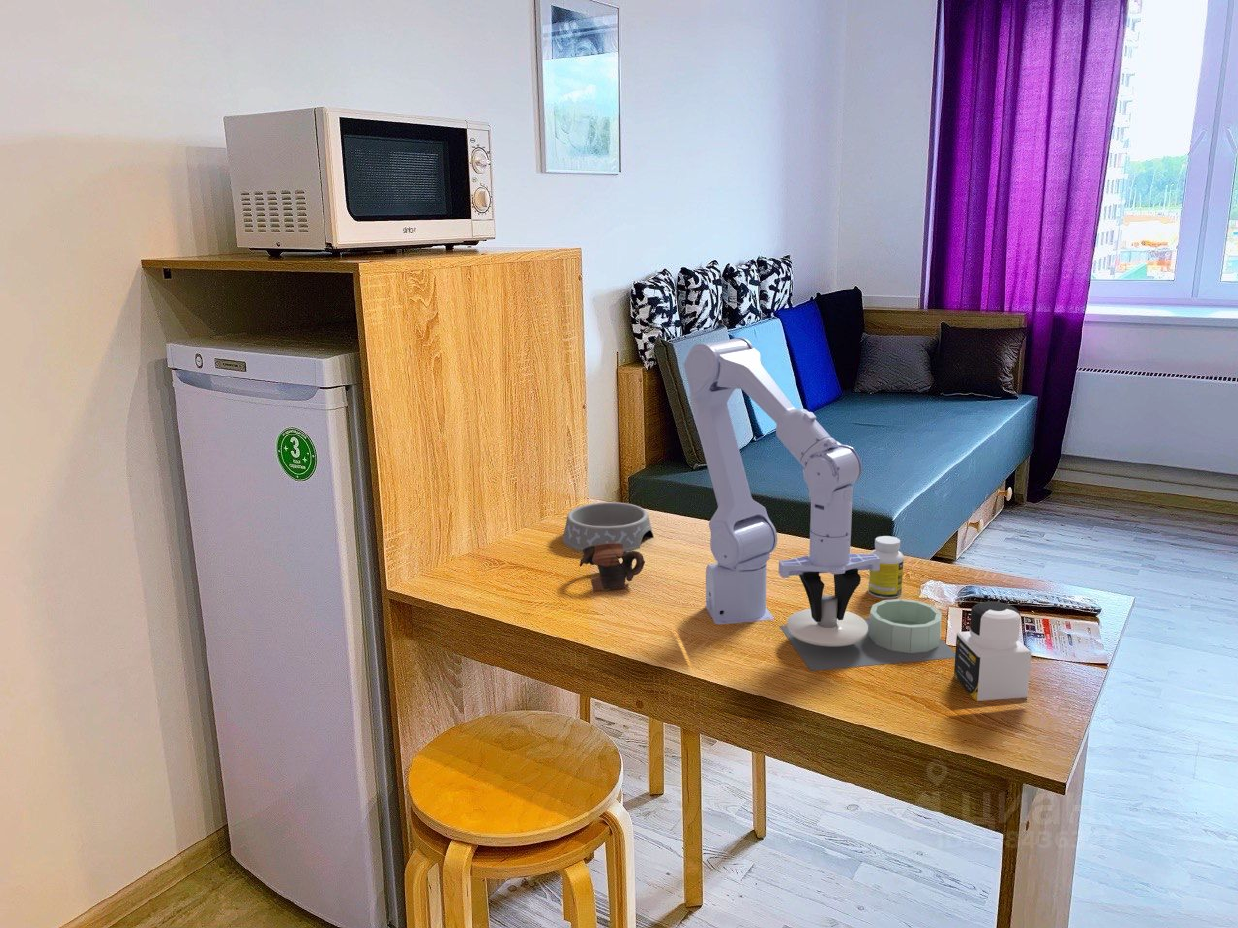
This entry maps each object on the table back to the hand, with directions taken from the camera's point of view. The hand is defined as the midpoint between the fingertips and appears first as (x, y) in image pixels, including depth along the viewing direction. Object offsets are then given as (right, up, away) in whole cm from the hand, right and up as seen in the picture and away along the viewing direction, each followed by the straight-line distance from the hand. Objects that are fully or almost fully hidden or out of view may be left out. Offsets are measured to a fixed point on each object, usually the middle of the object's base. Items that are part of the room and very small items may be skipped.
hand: (827, 618), depth 141 cm
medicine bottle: (+19, -8, -12) cm, 24 cm away
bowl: (+12, -3, +2) cm, 13 cm away
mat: (+6, -4, +2) cm, 8 cm away
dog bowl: (-33, +7, +51) cm, 61 cm away
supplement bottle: (+14, +1, +19) cm, 24 cm away
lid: (0, -2, 0) cm, 2 cm away
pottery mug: (-32, +2, +29) cm, 43 cm away
